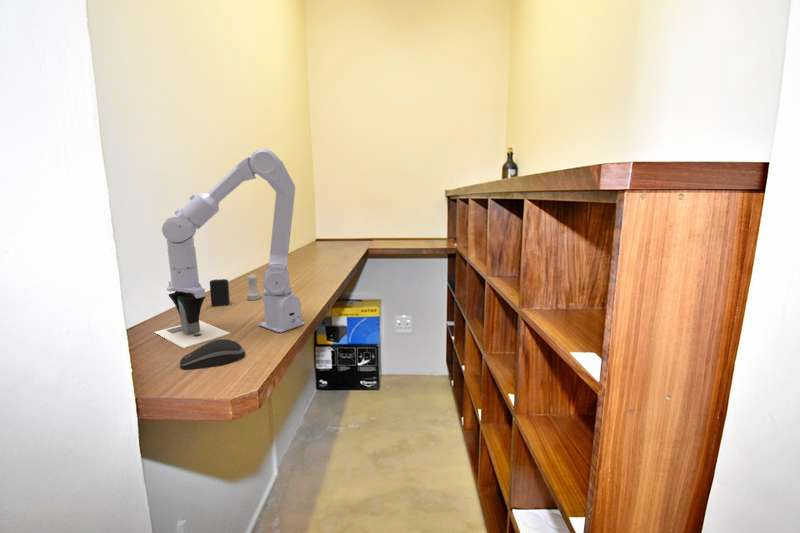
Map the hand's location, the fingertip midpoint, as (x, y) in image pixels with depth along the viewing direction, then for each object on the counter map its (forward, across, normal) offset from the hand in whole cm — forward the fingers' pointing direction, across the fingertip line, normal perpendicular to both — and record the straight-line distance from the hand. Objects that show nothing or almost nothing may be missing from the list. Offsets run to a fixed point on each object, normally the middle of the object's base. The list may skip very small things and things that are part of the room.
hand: (190, 321), depth 94 cm
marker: (+3, 0, 0) cm, 3 cm away
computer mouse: (+4, +19, -4) cm, 20 cm away
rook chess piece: (+3, -16, +27) cm, 32 cm away
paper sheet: (+3, 0, 0) cm, 3 cm away
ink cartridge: (+3, -18, +17) cm, 25 cm away
